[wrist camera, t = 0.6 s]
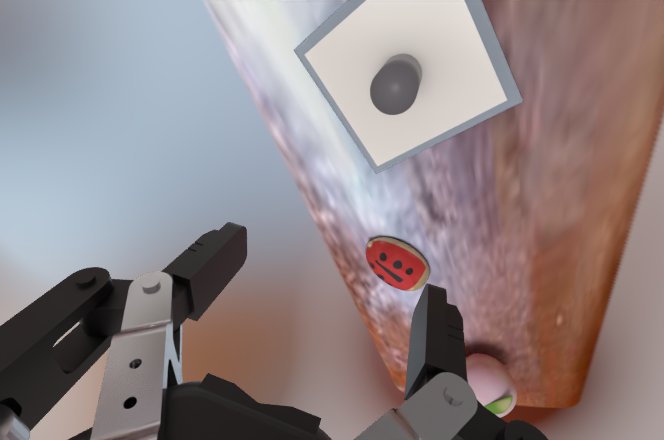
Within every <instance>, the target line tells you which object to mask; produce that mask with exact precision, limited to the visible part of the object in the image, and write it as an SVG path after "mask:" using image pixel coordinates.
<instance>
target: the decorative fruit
mask: <svg viewBox="0 0 664 440" xmlns="http://www.w3.org/2000/svg"><path fill="white" fill-rule="evenodd" d="M466 368H467V379H468V384H469V385H470V386H471V388H472V389H473V391H474V393H475V395H476V398H477V400H478V401H479V402H480V403H481V404H482V405H483V406H484V407H485V408H487V409H488V410H489V411H491V412H492V413H494V414H495V415H497V416H498V417H503V416H505V415H506V414H508V413H509V412H510V411H511V410H512V409H513V408H514V406H515V404H516V400H517V390H516V386H515V383H514V381H513V379H512V377H511V375H510V374H509V372H508V371H507V369H506V368H505V367H504V365H503V364H502V363H501V362H499V361H498V360H497V359H495V358H494V357H492V356H489V355H486V354H480V353H475V354H472V355H470V356H469V357H466Z"/></svg>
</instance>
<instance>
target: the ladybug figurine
mask: <svg viewBox="0 0 664 440" xmlns="http://www.w3.org/2000/svg"><path fill="white" fill-rule="evenodd" d="M366 258H367V261H368V263H369V265H370V267H371V269H372V270H373V271H374V273H375V274H376V275H377V276H378V277H379V278H380V279H382V280H383V281H384V282H386V283H387V284H389V285H391V286H393V287H395V288H398V289H400V290H404V291H415V290H418V289H420V288H421V287H422V286H423V285H424V284H425V283H426V282H427V280H428V278H429V274H430V271H429V266H428V264H427V262H426V260H425V259H424V258H423V257H422V256H421V254H419V253H418V252H417V251H416V250H415V249H414V248H412V247H411V246H409V245H407V244H405V243H403V242H401V241H399V240H396V239H392V238H387V237H379V238H375V239H373V240H371V241H369V242H368V243H367V246H366Z"/></svg>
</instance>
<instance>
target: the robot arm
mask: <svg viewBox="0 0 664 440" xmlns="http://www.w3.org/2000/svg"><path fill="white" fill-rule="evenodd" d="M246 257H247V230H246V227H244V226H241V225H237V224H234V223H231V222H228V223H226V224H225V225H224V226H223V227H222V228H221V229H220V230H219V231H218V230H212V231H210V232H208V233H206V234H204V235H202V236H201V237H200V238H199V239H198V240H197V241H195V243H194V244H192V245H191V246H190V247H189V248H188V250H187V249H186V250H185V251H184V252H183V253H182V254H181V255H179V257H177V258H176V259H175V260H174V261H173V262H172V263H171V264H169V265H168V266H167V267H166V268H165V269H164V270H162V271H161V272H149V273H146V274H143V275H141V276H140V277H138V278H136V279H135V280H119V279H111V277H110V274H109V272H108V271H107V270H106V269H103V268H99V267H93V268H86V269H82V270H79V271H77V272H75V273H73V274H71V275H70V276H68V277H67V278H66V279H64V280H63V281H62V282H60V283H59V284H57V285H56V286H55V287H53V288H52V289H51V290H50V291H48V292H46V293H45V294H44V295H42V296H41V297H40V298H38V299H37V300H36V301H34V302H33V303H31V304H30V305H29V306H28V307H26V308H25V309H23V310H22V311H20V312H19V313H18V314H16V315H15V316H14V317H12V318H11V319H10V320H8V321H7V322H5V323H4V324H3V325H1V326H0V440H29V438H30V431H31V430H32V429H33V428H34V426H35V425H36V424H37V423H38V422H39V421H40V420H41V419H42V418H43V417H44V416H45V415H46V414H47V413H48V412H49V411H50V410H51V409H52V407H53V406H54V405H55V404H56V403H57V402H58V401H59V400H60V399H61V398H62V397H63V396H64V395H65V394H66V393H67V391H69V389H70V388H71V387H72V386H73V385H74V384H75V383H76V382H77V381H78V380H79V379H80V378H81V377H82V376H83V375H84V374H85V373H86V372H87V371H88V369H89V368H90V367H91V366H92V365H93V364H94V363H95V362H96V361H97V360H98V359H99V358H100V357H101V356H102V355H103V354H104V353H105V352H106V350H107V349H108V348H109V347H110V350H109V354H108V359H107V364H106V368H105V373H104V378H103V382H102V387H101V392H100V396H99V401H98V406H97V410H96V415H95V420H94V424H93V427H92V428H90V429H88V430H86V431H84V432H82V433H80V434H78V435H76V436H74V437H72V438H70V439H68V440H331V438H330V437H329V436H328V435H327V434H326V433H325V432H324V431H323V430H321V429H320V428H319V425H320V421H321V418H319V417H317V416H314V415H312V414H309V413H307V412H304V411H301V410H299V409H296V408H294V407H290V406H279V405H270V404H260V403H258V402H256V401H255V400H254V399H253V398H251V397H250V396H249V395H248V394H246V393H245V392H244V391H243V390H241V389H240V388H239V387H238V386H237V385H235V384H234V383H231V382H229V381H226V380H224V379H221V378H219V377H216V376H214V375H211V374H209V373H208V374H207V375H206V377H205V378H204V380H203V381H201V382H200V381H197V382H187V383H183V379H182V323H183V322H184V321H185V320H186V319H187V318H189V319H192V320H195V321H198V319H199V318H200V317H201V316H202V315H203V313H204V312H205V311H206V310H207V308H208V307H209V306H210V305H211V303H212V302H213V301H214V300H215V299H216V297H217V296H218V295H219V294H220V293H221V291H222V290H223V289H224V288H225V287H226V285H227V284H228V283H229V282H230V281H231V279H232V278H233V277H234V276H235V274H236V273H237V272H238V271H239V270H240V268H241V267H242V266H243V264H244V262H245V260H246ZM77 322H80V324H79V325H78V326H77V327H76V328H74V329H73V330H72V331H71V332H70V333H69V334H68V335H67V336H65V337H64V338H63V339H62V340H61V341H60V342H59V343H58V344H57V345H55V346H54V344H55V343H56V341H57V340H58V339H59V338H60V337H61V336H63V335H64V334H65V333H66V332H67V331H68V330H69V329H71V328H72V327H73V326H74V325H75V324H76V323H77ZM53 346H54V347H53ZM405 400H407V401H406V402H404V403H403V404H402V405H401V406H400V407H398V408H397V409H394V408H393V409H391V410H389V411H388V412H386V413H385V414H384V415H383V416H381V417H380V418H379V419H378V420H377V421H375V422H374V423H373V424H372V425H371V426H369V427H368V428H367V429H366V430H365V431H363V432H362V433H361V434H360V435H359V436H357V437H356V438H355V439H354V440H548V439H547V438H546V436H545V435H544V434H542V432H541V431H540V430H538V429H537V428H536V427H534V426H533V425H531V424H529V423H527V422H524V421H520V420H514V421H511V422H509V423H507V422H505V421H504V420H502V419H501V418H500V417H498V416H497V415H495V414H494V413H492V412H491V411H489V410H488V409H487V408H485V407H484V406H483V405H482V404H481V403H480V402H479V401H478V400H477V398H476V395H475V393H474V391H473V389H472V388H471V386H470V385H469V384H468V379H467V368H466V355H465V343H464V332H463V318H462V316H461V314H460V312H459V310H458V308H457V306H454V305H451V304H448V303H447V293H446V289H444V288H441V287H437V286H434V285H431V284H426V285H425V288H424V290H423V292H422V294H421V296H420V299H419V301H418V303H417V305H416V308H415V310H414V314H413V318H412V324H411V334H410V345H409V356H408V366H407V377H406V387H405Z"/></svg>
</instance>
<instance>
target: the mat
mask: <svg viewBox="0 0 664 440" xmlns="http://www.w3.org/2000/svg"><path fill="white" fill-rule="evenodd" d="M365 1H366V0H348V1H347V2H345V3H344V4H343V5H342V6H341V7H340V8H339V9H338V10H337V11H336V12H335V13H333V14H332V15H331V16H330V17H329V18H328V19H327V20H326V21H325V22H324V23H323V24H322V25H320V26H319V27H318V28H317V29H316V30H315V31H314V32H313V33H312V34H311V35H310V36H308V37H307V38H306V39H305V40H304V41H303V42H302V43H301V44H300V45H299V46H298V47H297V48H295V49H294V52H295V53H296V55H297V56H298V58H299V59H300V61H301V62H302V64H303V65H304V67H305V68H306V70H307V71H308V73H309V74H310V76H311V77H312V79H313V80H314V82H315V83H316V85H317V86H318V88H319V89H320V91H321V92H322V94H323V95H324V97H325V98H326V100H327V101H328V103H329V104H330V106H331V107H332V109H333V110H334V112H335V113H336V115H337V116H338V118H339V119H340V121H341V122H342V124H343V125H344V127H345V128H346V130H347V131H348V133H349V134H350V136H351V137H352V139H353V140H354V142H355V143H356V145H357V146H358V148H359V149H360V151H361V152H362V154H363V155H364V157H365V158H366V160H367V161H368V163H369V164H370V166H371V167H372V169H373V170H374V172H375V173H376V174H377V173H379V172H381V171H383V170H385V169H387V168H389V167H391V166H393V165H395V164H397V163H399V162H401V161H403V160H405V159H407V158H409V157H411V156H413V155H416V154H418V153H420V152H422V151H424V150H426V149H428V148H430V147H432V146H434V145H436V144H438V143H440V142H442V141H444V140H446V139H448V138H450V137H452V136H454V135H456V134H458V133H460V132H462V131H464V130H466V129H468V128H470V127H472V126H474V125H476V124H478V123H480V122H482V121H484V120H486V119H488V118H490V117H492V116H494V115H496V114H498V113H500V112H502V111H504V110H506V109H508V108H510V107H513V106H515V105H517V104H519V103H521V102H523V100H522V98H521V95H520V93H519V90H518V88H517V85H516V83H515V81H514V78H513V76H512V73H511V71H510V68H509V66H508V63H507V61H506V59H505V56H504V54H503V51H502V49H501V46H500V44H499V42H498V39H497V37H496V34H495V32H494V29H493V27H492V24H491V22H490V20H489V17H488V15H487V12H486V10H485V7H484V5H483V3H482V0H465V3H466V5H467V7H468V10H469V12H470V14H471V17H472V19H473V21H474V24H475V26H476V28H477V31H478V33H479V35H480V38H481V40H482V42H483V45H484V47H485V49H486V52H487V54H488V56H489V59H490V61H491V63H492V66H493V68H494V70H495V73H496V75H497V77H498V79H499V82H500V84H501V86H502V89H503V91H504V93H505V96H506V98H507V101H505V102H503V103H501V104H499V105H497V106H495V107H493V108H491V109H489V110H487V111H485V112H483V113H481V114H479V115H477V116H475V117H473V118H472V119H470V120H468V121H466V122H464V123H462V124H460V125H458V126H456V127H454V128H452V129H450V130H448V131H446V132H444V133H442V134H440V135H438V136H436V137H434V138H432V139H430V140H428V141H426V142H424V143H422V144H420V145H419V146H417V147H415V148H413V149H411V150H409V151H407V152H405V153H403V154H401V155H399V156H397V157H395V158H393V159H391V160H389V161H387V162H385V163H383V164H381V165H379V166H377V165H376V163H375V162H374V160H373V159H372V157H371V156H370V154H369V153H368V151H367V150H366V148H365V147H364V145H363V143H362V142H361V140H360V139H359V137H358V136H357V134H356V133H355V131H354V130H353V128H352V127H351V125H350V124H349V122H348V121H347V119H346V118H345V116H344V114H343V113H342V111H341V110H340V108H339V107H338V105H337V104H336V102H335V101H334V99H333V98H332V96H331V95H330V93H329V92H328V90H327V89H326V87H325V85H324V84H323V82H322V81H321V79H320V78H319V76H318V75H317V73H316V72H315V70H314V69H313V67H312V66H311V64H310V63H309V61H308V60H307V58H306V57H305V54H306V53H307V52H308V51H309V50H310V49H312V48H313V47H314V46H315V45H316V44H317V43H318V42H319V41H321V40H322V39H323V38H324V37H325V36H326V35H327V34H328V33H330V32H331V31H332V30H333V29H334V28H335V27H336V26H338V25H339V24H340V23H341V22H342V21H343V20H344V19H345V18H347V17H348V16H349V15H350V14H351V13H352V12H353V11H355V10H356V9H357V8H358V7H359V6H360V5H361V4H362V3H364V2H365Z"/></svg>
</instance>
